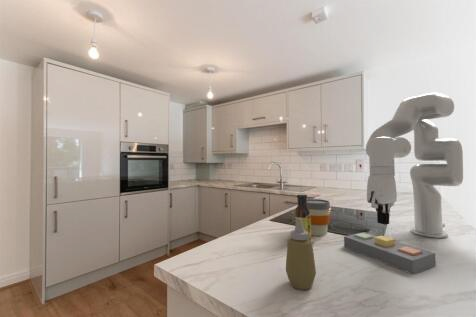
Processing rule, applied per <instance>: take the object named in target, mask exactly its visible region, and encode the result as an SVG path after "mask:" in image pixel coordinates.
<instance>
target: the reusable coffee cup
mask: <svg viewBox="0 0 476 317" xmlns="http://www.w3.org/2000/svg"><path fill="white" fill-rule="evenodd" d="M330 204H331V203H330V200H326V199H320V198H307V206H308V209H309V211H310V219H311V236H315V237H324V236H326V235H328V225H329V224H330V217H331V214H330V209H331V205H330Z"/></svg>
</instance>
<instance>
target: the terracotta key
mask: <svg viewBox="0 0 476 317" xmlns="http://www.w3.org/2000/svg"><path fill="white" fill-rule="evenodd" d="M398 251H400V252H403V253H406V254H409V255H412V256H416V255H420V254H422V251H420V250H417V249H414V248H410V247H407V246H405V247H402V248H398Z"/></svg>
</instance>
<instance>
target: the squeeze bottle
mask: <svg viewBox="0 0 476 317" xmlns="http://www.w3.org/2000/svg"><path fill="white" fill-rule="evenodd" d="M286 245H287V246H286V247H287V248H286V258H285V259H286V262H285V274H286V275H287V278H288V281H289V284H290V285H291V287H293V288H294V289H296V290H302V291H303V290H304V291H305V290H309V289H311V288H312V287H313V284H314V280H315V278H316V274H317V271H316V263H315V262H316V261H315V254H314V248H313V242H312V239H311V240H309V239H308V232H307V231H305V230H304V228H303V224H302V220H301V218H297V221H296V223H295V227H294V229H292V230H291V231H290V238H288V240H287V244H286Z"/></svg>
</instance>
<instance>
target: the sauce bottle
mask: <svg viewBox="0 0 476 317" xmlns="http://www.w3.org/2000/svg"><path fill="white" fill-rule="evenodd" d="M296 198H297V206H296V207H295V210H294V212H295V216H294V222H295V224H296V221H297V218H301V220H302V224H303V228H304V230H305V231H307V232H308V239H309V240H311V241H312V235H311V219H310V211H309V209H308V206H307V199H308V194H306V193H298V194H296Z"/></svg>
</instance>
